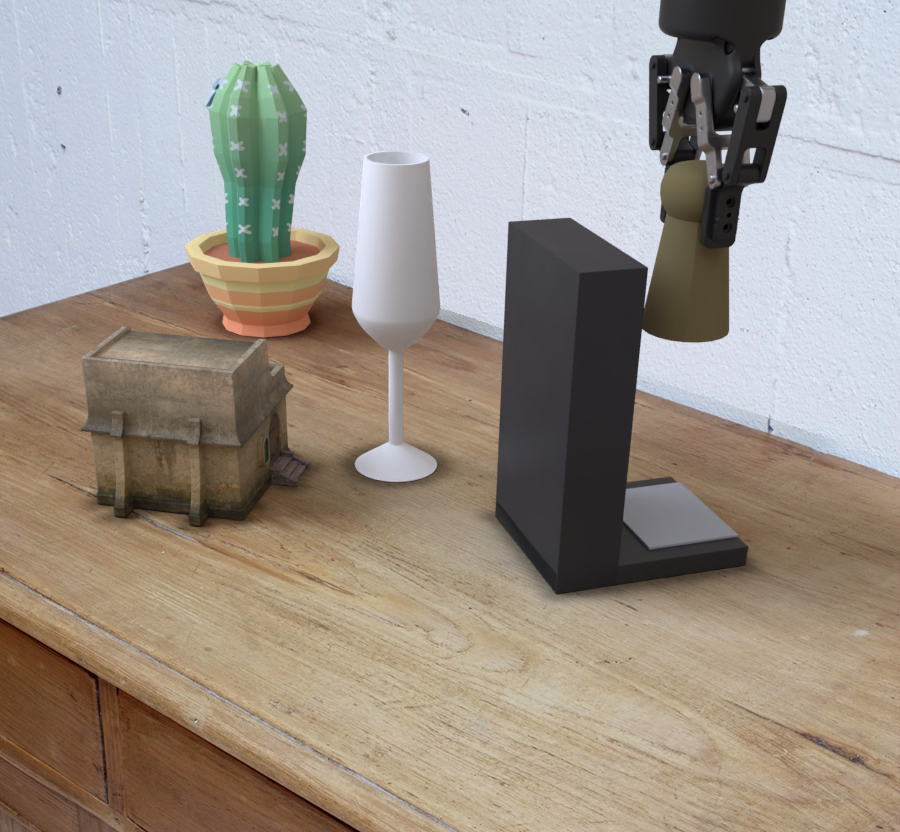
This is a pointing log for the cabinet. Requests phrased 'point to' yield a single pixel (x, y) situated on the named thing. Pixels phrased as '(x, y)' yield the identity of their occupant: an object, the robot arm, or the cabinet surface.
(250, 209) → the potted cactus
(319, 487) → the cabinet surface
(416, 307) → the champagne flute
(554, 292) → the coffee maker
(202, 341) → the miniature house
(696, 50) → the robot arm
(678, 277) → the olive pawn figure
